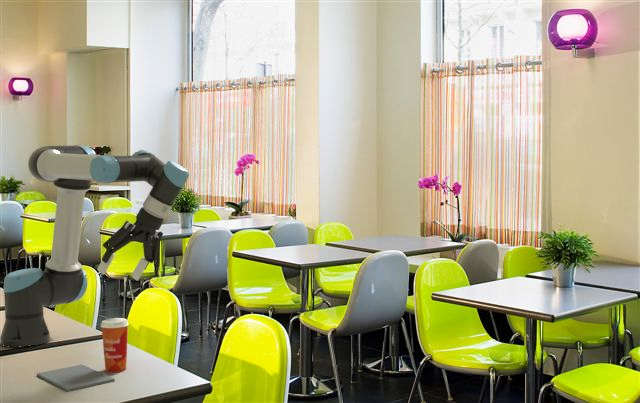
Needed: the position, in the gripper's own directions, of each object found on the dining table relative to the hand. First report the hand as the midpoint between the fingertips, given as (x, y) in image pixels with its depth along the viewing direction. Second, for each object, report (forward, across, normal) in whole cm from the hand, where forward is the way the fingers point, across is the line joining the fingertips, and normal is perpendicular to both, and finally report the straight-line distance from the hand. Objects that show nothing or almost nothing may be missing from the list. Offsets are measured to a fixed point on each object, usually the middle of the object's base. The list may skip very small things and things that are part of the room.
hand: (117, 275), depth 224 cm
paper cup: (+21, 0, -17) cm, 27 cm away
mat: (+25, -11, -15) cm, 31 cm away
